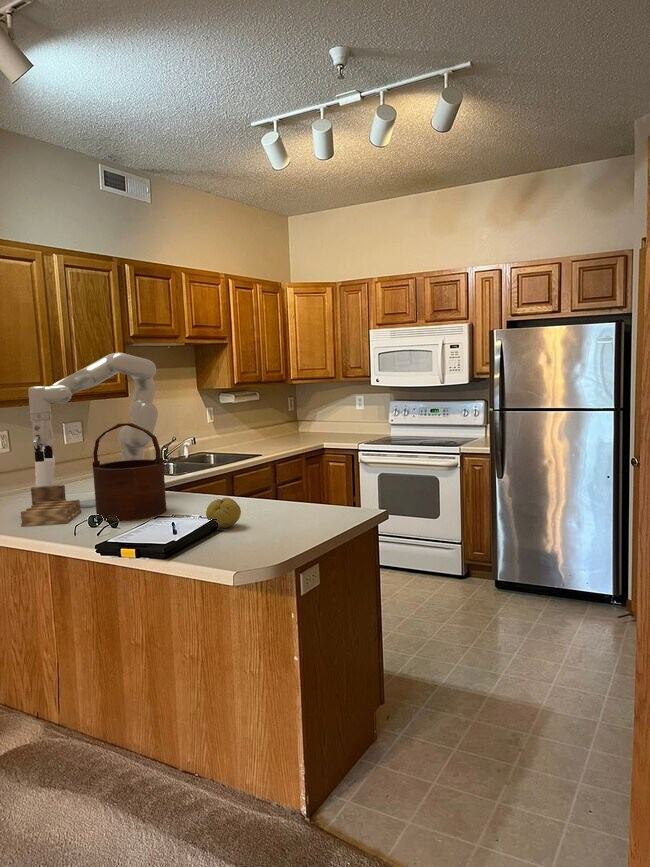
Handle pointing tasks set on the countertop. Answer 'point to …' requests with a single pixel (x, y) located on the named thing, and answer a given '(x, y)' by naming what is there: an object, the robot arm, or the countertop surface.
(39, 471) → the bottle
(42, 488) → the board
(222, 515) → the fruit
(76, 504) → the rack
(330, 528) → the countertop surface
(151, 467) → the wooden bucket
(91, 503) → the pale blue rounded part
